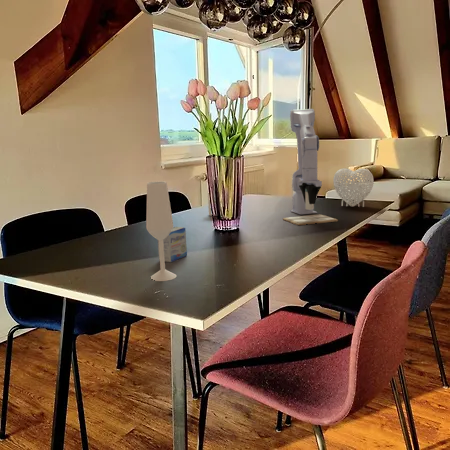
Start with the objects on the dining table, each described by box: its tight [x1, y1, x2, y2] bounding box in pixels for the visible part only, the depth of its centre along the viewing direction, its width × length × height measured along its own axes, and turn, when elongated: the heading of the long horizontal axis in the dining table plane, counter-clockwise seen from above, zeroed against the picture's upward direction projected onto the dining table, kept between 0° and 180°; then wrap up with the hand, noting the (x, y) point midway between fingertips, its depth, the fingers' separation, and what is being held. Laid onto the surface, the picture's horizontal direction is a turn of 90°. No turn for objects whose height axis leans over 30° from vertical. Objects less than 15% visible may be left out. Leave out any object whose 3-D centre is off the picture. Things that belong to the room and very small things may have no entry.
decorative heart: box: [333, 167, 374, 208], centre depth 203 cm, size 18×11×17 cm, turn 54°
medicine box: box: [157, 226, 188, 263], centre depth 131 cm, size 8×4×9 cm, turn 148°
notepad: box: [282, 213, 339, 226], centre depth 177 cm, size 13×17×1 cm
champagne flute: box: [145, 181, 177, 282], centre depth 112 cm, size 7×7×24 cm
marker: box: [305, 188, 315, 210], centre depth 176 cm, size 3×3×8 cm
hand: (309, 203), depth 176 cm, fingers closed on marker, 3 cm apart
